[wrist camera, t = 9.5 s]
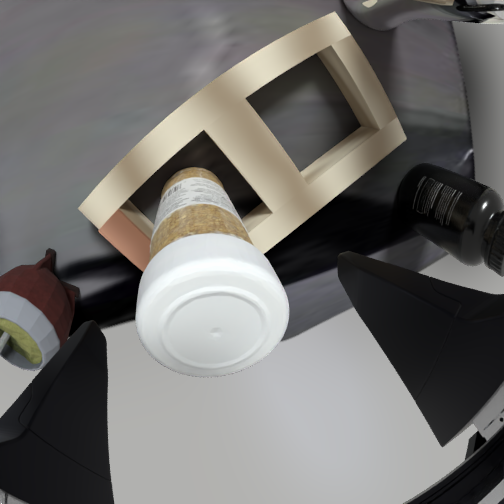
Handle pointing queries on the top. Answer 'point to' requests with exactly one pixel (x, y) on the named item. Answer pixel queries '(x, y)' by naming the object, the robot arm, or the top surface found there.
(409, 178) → the supplement bottle
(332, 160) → the beige wooden flat tray
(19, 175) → the top surface
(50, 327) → the mate gourd
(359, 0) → the beer glass
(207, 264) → the sprinkles bottle
